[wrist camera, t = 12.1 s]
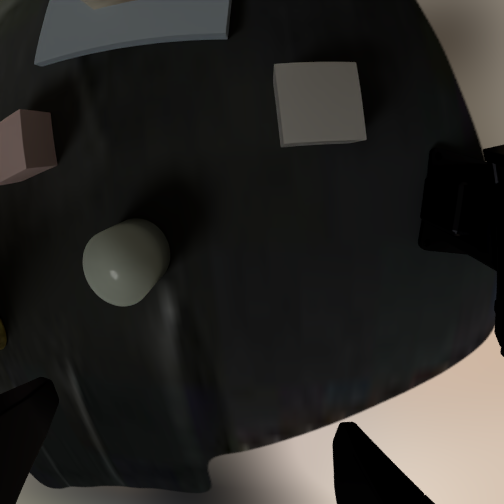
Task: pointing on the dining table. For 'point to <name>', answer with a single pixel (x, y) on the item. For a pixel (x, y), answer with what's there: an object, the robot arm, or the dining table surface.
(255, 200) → the dining table surface
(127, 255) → the sage cylinder
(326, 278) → the dining table surface
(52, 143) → the pink block
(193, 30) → the blue board
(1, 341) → the vase
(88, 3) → the birch block
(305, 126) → the off-white block
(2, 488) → the robot arm
